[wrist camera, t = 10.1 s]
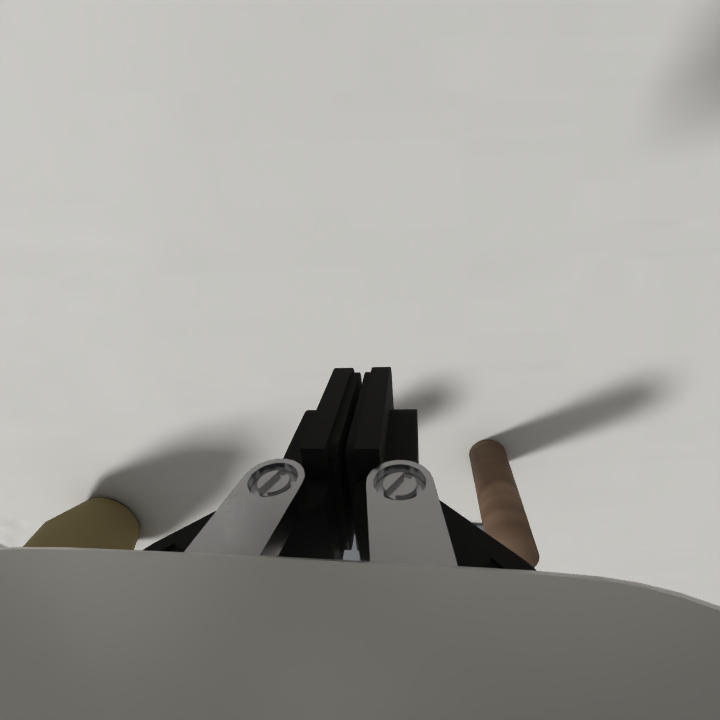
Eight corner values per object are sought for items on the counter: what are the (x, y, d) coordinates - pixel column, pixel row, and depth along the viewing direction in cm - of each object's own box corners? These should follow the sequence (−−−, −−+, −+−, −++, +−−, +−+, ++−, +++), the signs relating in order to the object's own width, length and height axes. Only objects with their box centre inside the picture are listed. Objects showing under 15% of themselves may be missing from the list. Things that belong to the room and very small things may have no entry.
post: (469, 439, 30) (490, 539, 21) (506, 440, 29) (541, 541, 21) (468, 468, 31) (488, 572, 22) (504, 468, 30) (537, 575, 22)
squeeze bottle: (161, 510, 37) (-40, 772, 21) (142, 561, 40) (-44, 820, 24) (78, 472, 36) (-197, 712, 20) (66, 527, 40) (-178, 770, 23)
